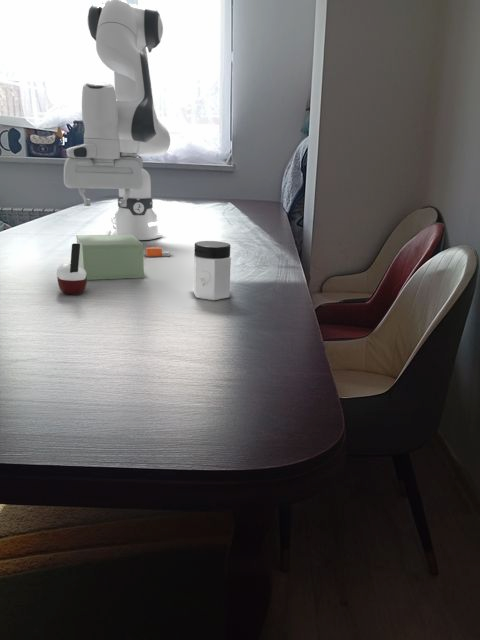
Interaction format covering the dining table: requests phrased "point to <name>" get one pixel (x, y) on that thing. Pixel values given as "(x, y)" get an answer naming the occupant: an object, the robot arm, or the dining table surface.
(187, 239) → the dining table surface
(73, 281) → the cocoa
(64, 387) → the dining table surface
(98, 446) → the dining table surface
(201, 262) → the jar
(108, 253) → the pale green box
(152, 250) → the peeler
